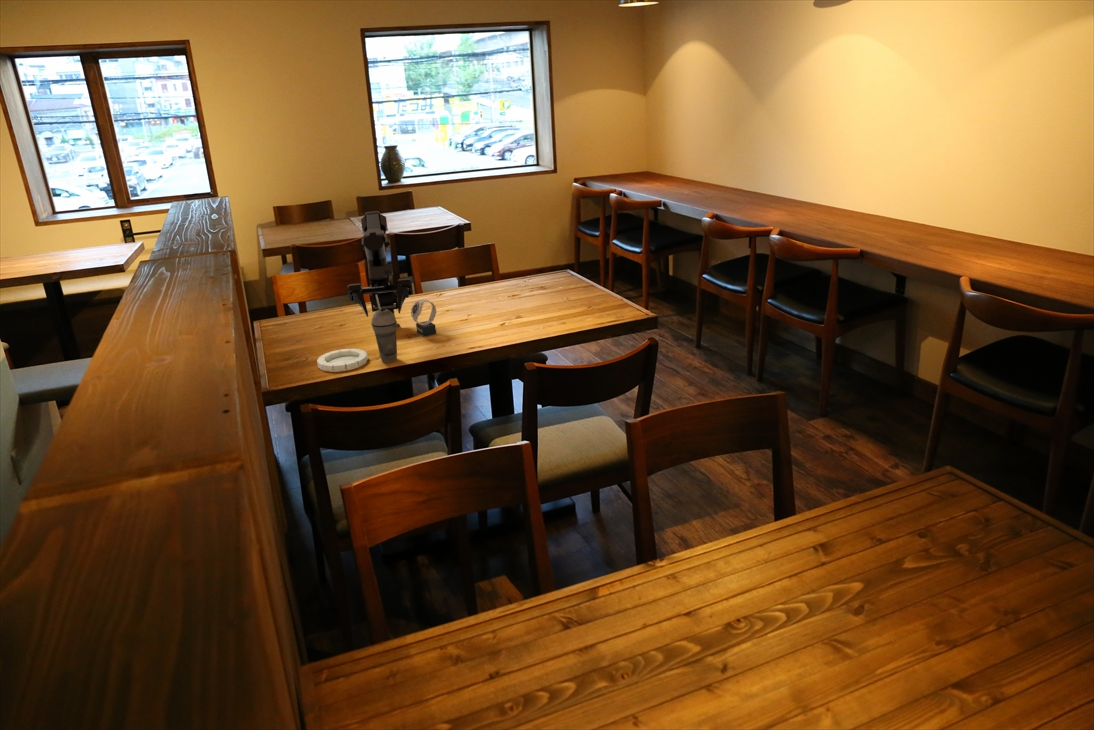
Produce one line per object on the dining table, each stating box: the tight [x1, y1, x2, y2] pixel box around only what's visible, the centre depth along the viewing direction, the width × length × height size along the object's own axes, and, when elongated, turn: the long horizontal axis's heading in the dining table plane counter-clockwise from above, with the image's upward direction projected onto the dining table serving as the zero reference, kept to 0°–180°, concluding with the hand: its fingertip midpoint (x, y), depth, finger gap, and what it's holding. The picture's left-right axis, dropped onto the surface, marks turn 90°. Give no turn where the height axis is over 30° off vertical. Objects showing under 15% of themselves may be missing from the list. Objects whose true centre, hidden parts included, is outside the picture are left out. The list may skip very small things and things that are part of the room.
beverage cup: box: [370, 295, 398, 364], centre depth 214 cm, size 7×7×20 cm
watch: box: [410, 299, 437, 338], centre depth 237 cm, size 6×8×11 cm
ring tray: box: [316, 348, 369, 373], centre depth 217 cm, size 14×14×2 cm
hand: (383, 314), depth 217 cm, fingers open, 9 cm apart
